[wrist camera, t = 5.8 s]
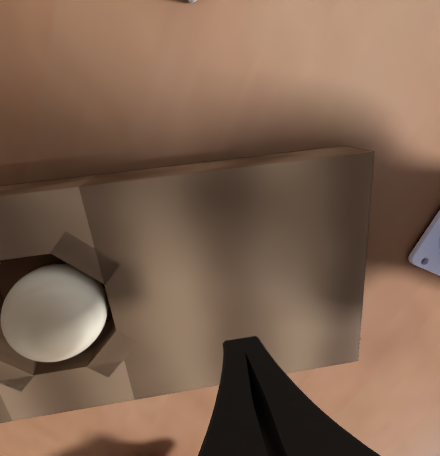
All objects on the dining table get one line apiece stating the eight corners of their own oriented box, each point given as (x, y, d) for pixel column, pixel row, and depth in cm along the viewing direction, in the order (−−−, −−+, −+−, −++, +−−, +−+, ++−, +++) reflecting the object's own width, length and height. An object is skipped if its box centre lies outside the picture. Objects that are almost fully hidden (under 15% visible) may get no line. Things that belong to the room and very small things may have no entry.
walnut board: (343, 145, 18) (374, 151, 15) (336, 330, 22) (358, 360, 20) (-82, 195, 16) (-138, 212, 13) (4, 384, 21) (-24, 427, 18)
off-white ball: (-46, 347, 13) (-6, 289, 18) (49, 402, 15) (63, 338, 20) (50, 270, 13) (65, 232, 18) (129, 335, 16) (125, 287, 20)
